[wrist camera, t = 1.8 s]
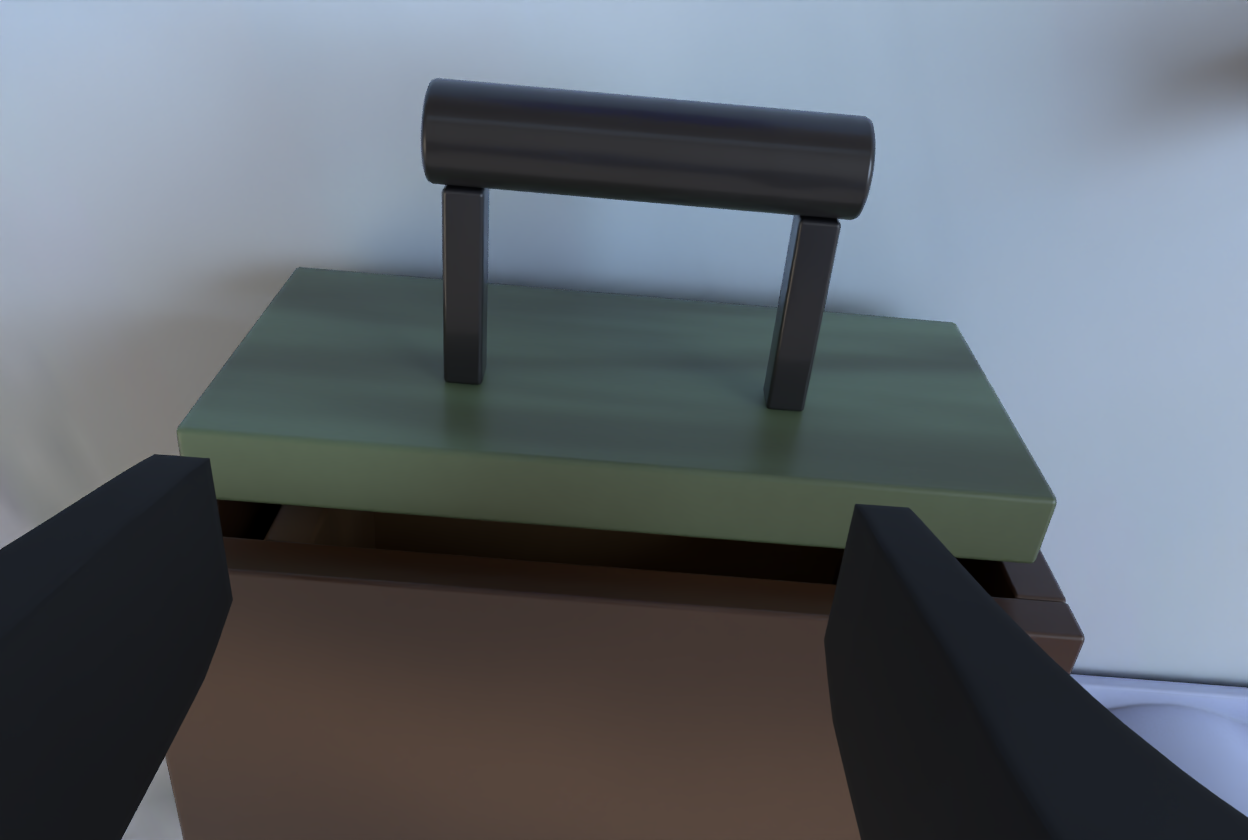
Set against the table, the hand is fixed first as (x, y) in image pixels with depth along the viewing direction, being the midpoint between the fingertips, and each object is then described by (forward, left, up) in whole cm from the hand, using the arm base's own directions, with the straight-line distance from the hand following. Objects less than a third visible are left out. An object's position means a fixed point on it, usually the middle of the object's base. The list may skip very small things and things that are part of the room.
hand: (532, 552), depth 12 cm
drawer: (-1, +4, -9) cm, 10 cm away
